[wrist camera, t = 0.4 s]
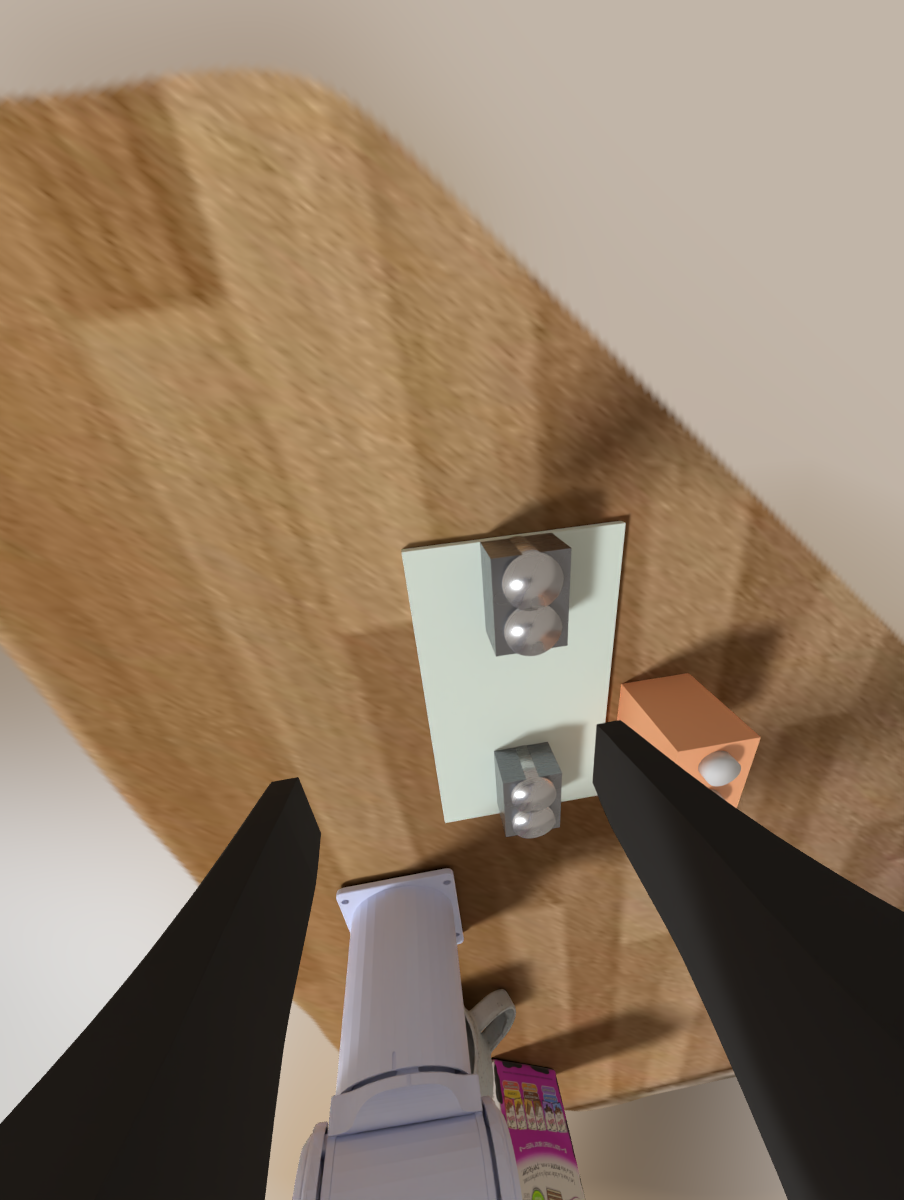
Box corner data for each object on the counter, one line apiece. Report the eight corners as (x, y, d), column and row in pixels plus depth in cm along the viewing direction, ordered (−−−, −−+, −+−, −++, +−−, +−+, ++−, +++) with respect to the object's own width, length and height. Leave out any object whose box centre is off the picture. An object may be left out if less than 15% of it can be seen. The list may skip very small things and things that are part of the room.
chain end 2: (546, 794, 25) (561, 832, 22) (497, 803, 24) (507, 842, 22) (547, 741, 23) (564, 776, 20) (493, 750, 22) (504, 787, 20)
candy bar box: (462, 1074, 44) (494, 1403, 30) (493, 1056, 43) (542, 1389, 28) (526, 1084, 48) (583, 1377, 34) (556, 1068, 47) (628, 1364, 32)
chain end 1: (550, 622, 19) (570, 650, 17) (485, 632, 19) (497, 661, 17) (551, 531, 17) (574, 549, 15) (479, 541, 17) (492, 560, 15)
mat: (594, 790, 26) (597, 795, 25) (444, 817, 25) (445, 822, 24) (621, 520, 18) (625, 523, 17) (401, 549, 17) (401, 552, 17)
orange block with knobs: (674, 736, 24) (745, 820, 19) (613, 747, 24) (669, 834, 19) (687, 672, 22) (772, 747, 17) (621, 683, 22) (686, 762, 17)
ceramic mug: (419, 1038, 39) (425, 1172, 32) (388, 1007, 35) (388, 1151, 28) (519, 1003, 39) (547, 1131, 32) (499, 969, 35) (526, 1104, 28)
